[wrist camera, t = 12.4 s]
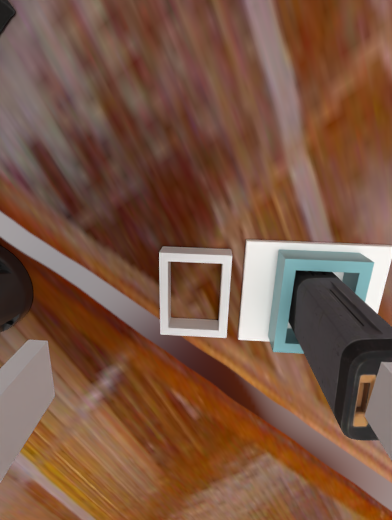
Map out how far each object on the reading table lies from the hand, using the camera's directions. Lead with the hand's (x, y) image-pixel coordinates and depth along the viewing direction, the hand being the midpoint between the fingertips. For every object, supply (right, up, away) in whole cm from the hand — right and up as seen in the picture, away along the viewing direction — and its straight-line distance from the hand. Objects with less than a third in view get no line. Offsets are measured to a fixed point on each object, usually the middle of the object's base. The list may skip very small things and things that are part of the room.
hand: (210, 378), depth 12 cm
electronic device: (+16, 0, +31) cm, 35 cm away
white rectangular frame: (-1, 0, +33) cm, 33 cm away
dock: (+16, 0, +32) cm, 36 cm away
